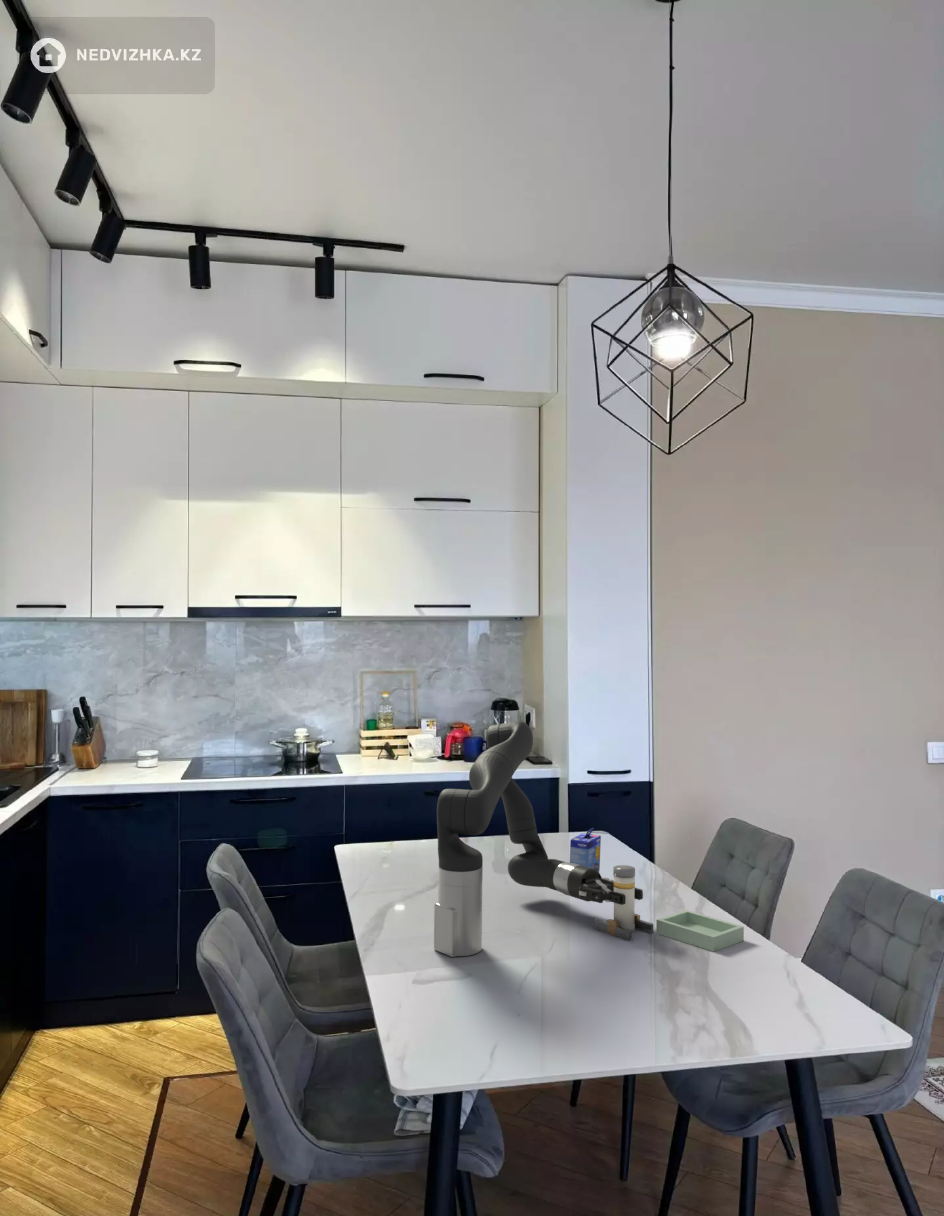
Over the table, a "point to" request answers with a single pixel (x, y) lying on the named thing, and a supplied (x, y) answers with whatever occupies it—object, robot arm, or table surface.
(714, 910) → the table surface
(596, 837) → the ink cartridge box
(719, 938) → the tray
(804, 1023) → the table surface
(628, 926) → the cylinder
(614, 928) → the clip rails
